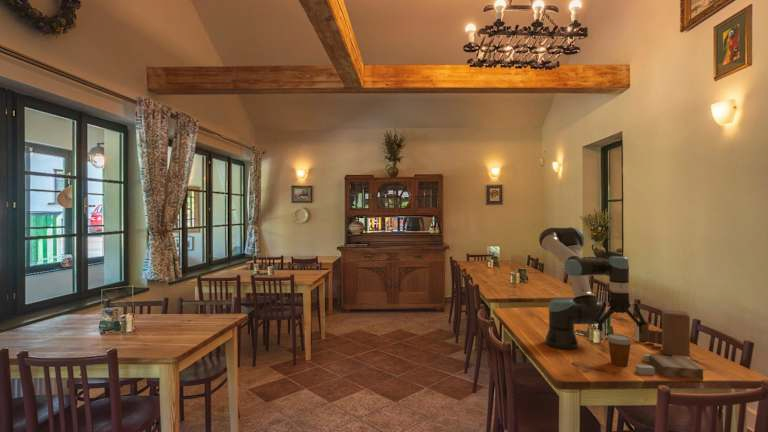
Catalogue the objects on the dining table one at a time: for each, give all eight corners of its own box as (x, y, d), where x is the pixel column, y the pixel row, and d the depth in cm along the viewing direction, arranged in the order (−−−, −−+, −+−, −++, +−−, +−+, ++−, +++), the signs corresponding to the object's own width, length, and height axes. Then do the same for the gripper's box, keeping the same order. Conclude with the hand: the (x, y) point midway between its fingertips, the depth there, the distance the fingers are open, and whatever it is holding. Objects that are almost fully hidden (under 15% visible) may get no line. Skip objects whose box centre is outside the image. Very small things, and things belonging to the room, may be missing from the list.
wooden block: (690, 359, 182) (689, 315, 182) (663, 355, 187) (663, 312, 187) (687, 352, 191) (687, 311, 191) (662, 349, 196) (661, 308, 196)
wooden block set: (667, 348, 197) (669, 327, 197) (648, 346, 198) (650, 325, 199) (649, 338, 215) (651, 319, 215) (632, 336, 216) (633, 317, 216)
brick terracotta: (674, 363, 177) (674, 357, 177) (672, 361, 180) (672, 354, 180) (690, 365, 175) (690, 358, 175) (688, 363, 178) (688, 356, 178)
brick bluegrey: (639, 374, 165) (639, 367, 165) (635, 371, 168) (635, 364, 168) (654, 375, 165) (654, 368, 165) (650, 372, 168) (650, 365, 168)
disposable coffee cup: (634, 369, 171) (634, 341, 171) (609, 366, 174) (609, 338, 174) (629, 361, 180) (629, 334, 180) (605, 358, 183) (605, 332, 183)
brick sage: (644, 362, 179) (644, 355, 179) (643, 360, 182) (643, 353, 182) (660, 364, 176) (660, 357, 176) (659, 362, 179) (659, 355, 179)
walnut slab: (663, 376, 163) (663, 366, 163) (649, 363, 177) (649, 354, 177) (703, 379, 160) (703, 369, 160) (685, 366, 173) (685, 357, 173)
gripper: (590, 291, 176) (591, 339, 176) (654, 294, 170) (655, 343, 170) (586, 289, 183) (586, 335, 183) (647, 291, 177) (648, 338, 177)
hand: (619, 339), depth 177 cm, fingers open, 13 cm apart
